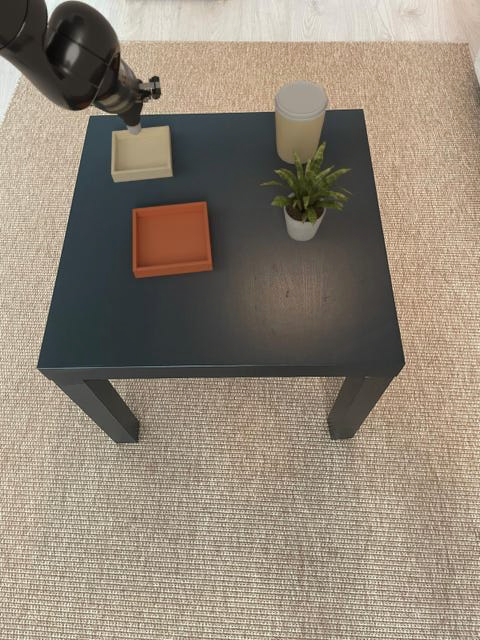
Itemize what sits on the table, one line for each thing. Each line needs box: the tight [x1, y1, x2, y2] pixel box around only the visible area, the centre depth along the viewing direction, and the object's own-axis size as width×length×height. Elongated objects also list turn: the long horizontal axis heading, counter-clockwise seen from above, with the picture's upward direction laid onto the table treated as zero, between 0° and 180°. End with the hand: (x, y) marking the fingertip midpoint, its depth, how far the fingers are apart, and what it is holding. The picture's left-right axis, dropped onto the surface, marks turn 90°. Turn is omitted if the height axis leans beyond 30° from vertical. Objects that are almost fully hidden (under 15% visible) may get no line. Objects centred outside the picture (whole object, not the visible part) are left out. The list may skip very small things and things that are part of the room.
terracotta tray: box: [132, 200, 214, 279], centre depth 84 cm, size 13×13×2 cm
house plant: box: [258, 140, 358, 242], centre depth 77 cm, size 14×14×16 cm
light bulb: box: [116, 102, 144, 135], centre depth 84 cm, size 6×6×10 cm
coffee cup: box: [273, 79, 329, 165], centre depth 88 cm, size 9×9×12 cm
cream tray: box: [110, 125, 174, 183], centre depth 93 cm, size 11×11×2 cm
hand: (127, 97), depth 84 cm, fingers closed on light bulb, 5 cm apart
